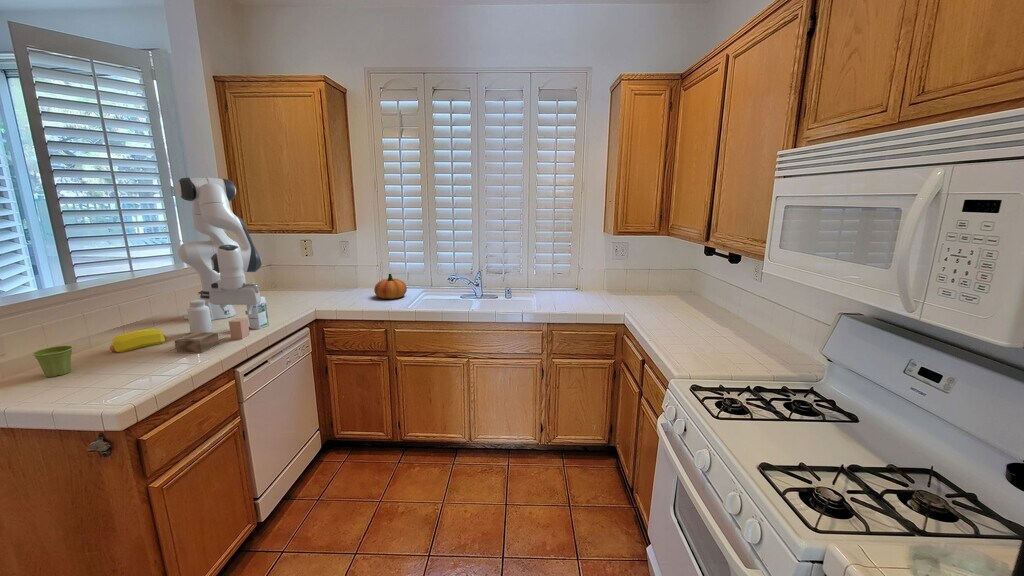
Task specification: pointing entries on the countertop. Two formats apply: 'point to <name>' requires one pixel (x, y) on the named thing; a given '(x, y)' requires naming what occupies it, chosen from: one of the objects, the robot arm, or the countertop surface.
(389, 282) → the pumpkin
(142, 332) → the yellow long rounded bar
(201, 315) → the pill bottle
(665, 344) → the countertop surface
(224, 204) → the robot arm
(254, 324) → the syrup box
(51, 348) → the plant pot
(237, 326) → the terracotta block
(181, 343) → the pedestal
